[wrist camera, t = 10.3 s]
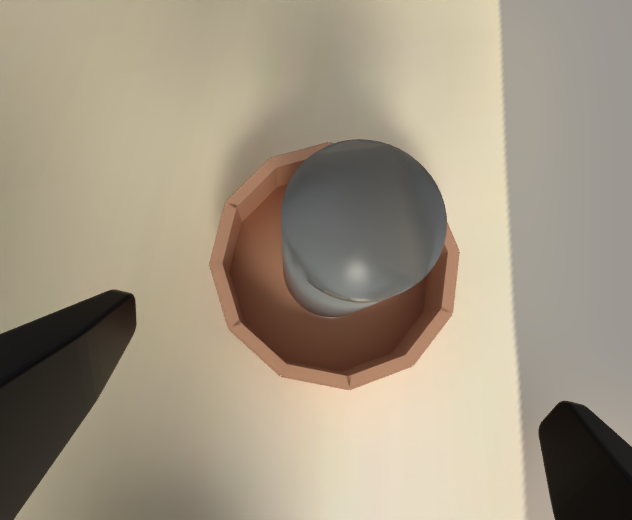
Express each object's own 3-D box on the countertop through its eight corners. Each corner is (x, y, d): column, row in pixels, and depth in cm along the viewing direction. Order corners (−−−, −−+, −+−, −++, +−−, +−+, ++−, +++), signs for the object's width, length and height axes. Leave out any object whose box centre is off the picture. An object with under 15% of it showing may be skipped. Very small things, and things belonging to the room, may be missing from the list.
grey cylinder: (396, 292, 21) (476, 257, 12) (308, 334, 20) (325, 328, 11) (353, 207, 22) (399, 117, 13) (267, 243, 21) (254, 173, 12)
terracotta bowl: (469, 262, 23) (502, 249, 19) (342, 426, 20) (354, 443, 17) (319, 137, 24) (325, 103, 20) (179, 278, 21) (159, 266, 18)
